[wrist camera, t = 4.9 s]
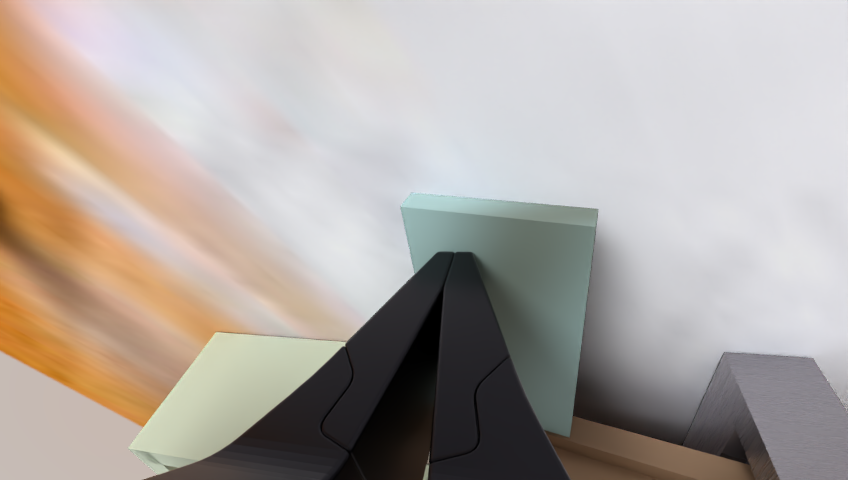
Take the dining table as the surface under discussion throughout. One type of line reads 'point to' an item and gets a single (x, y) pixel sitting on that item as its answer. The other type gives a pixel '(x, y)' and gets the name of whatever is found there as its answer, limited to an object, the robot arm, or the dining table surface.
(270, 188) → the dining table surface
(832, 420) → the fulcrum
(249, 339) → the box
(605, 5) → the dining table surface
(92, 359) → the dining table surface
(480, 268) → the lever
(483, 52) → the dining table surface
